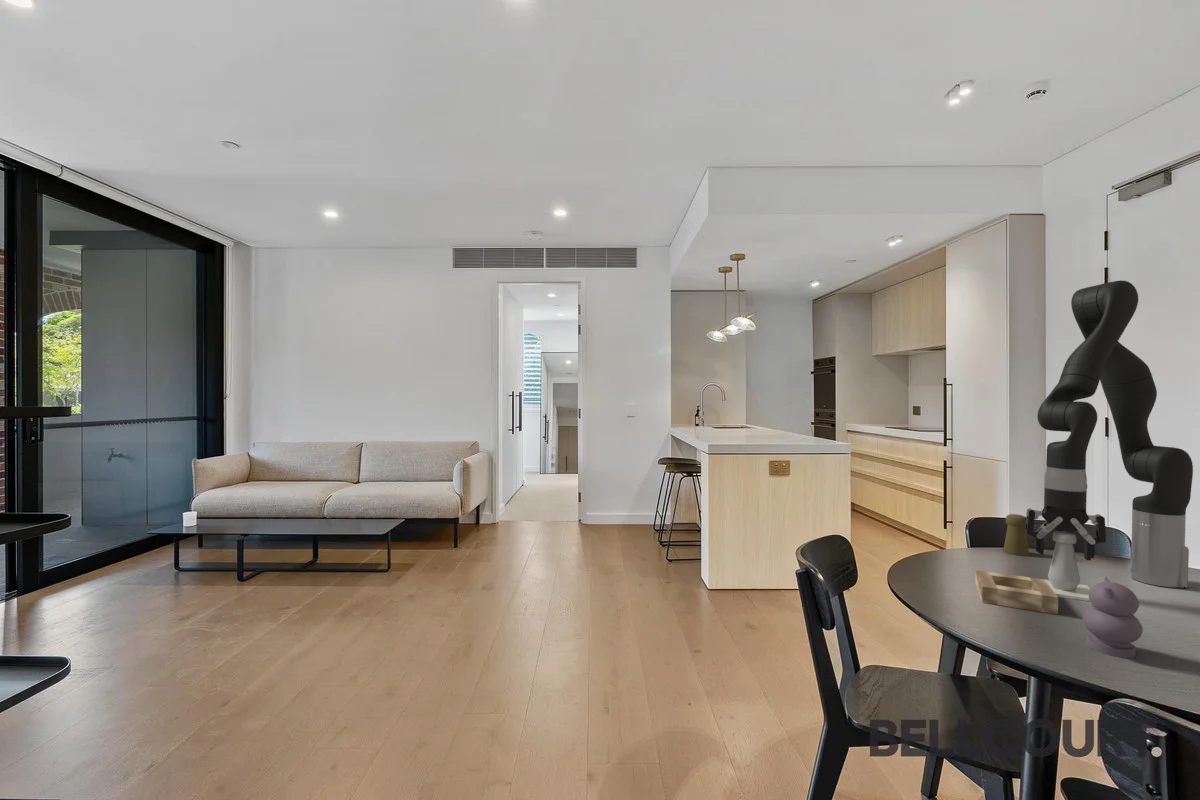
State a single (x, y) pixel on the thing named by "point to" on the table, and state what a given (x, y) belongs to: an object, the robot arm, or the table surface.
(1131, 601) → the stacked rounded figure
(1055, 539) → the salt shaker
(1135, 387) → the robot arm
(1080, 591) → the grey tile
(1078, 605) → the table surface
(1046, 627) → the table surface
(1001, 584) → the socket block
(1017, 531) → the cork
